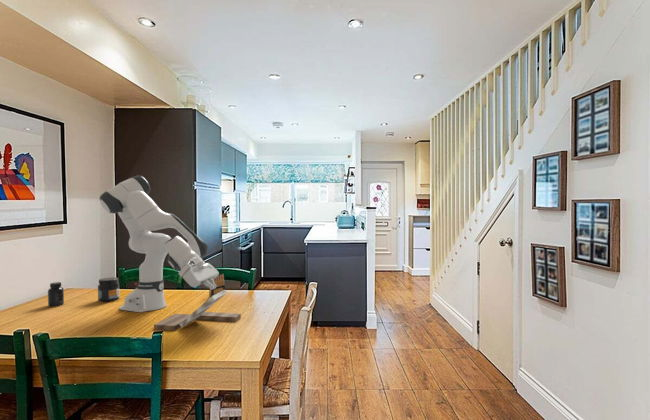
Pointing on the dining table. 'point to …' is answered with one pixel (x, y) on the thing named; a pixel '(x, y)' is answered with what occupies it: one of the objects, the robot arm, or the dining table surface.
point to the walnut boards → (176, 319)
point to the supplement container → (108, 289)
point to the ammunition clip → (219, 284)
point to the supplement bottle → (55, 294)
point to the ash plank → (203, 308)
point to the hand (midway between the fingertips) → (214, 288)
